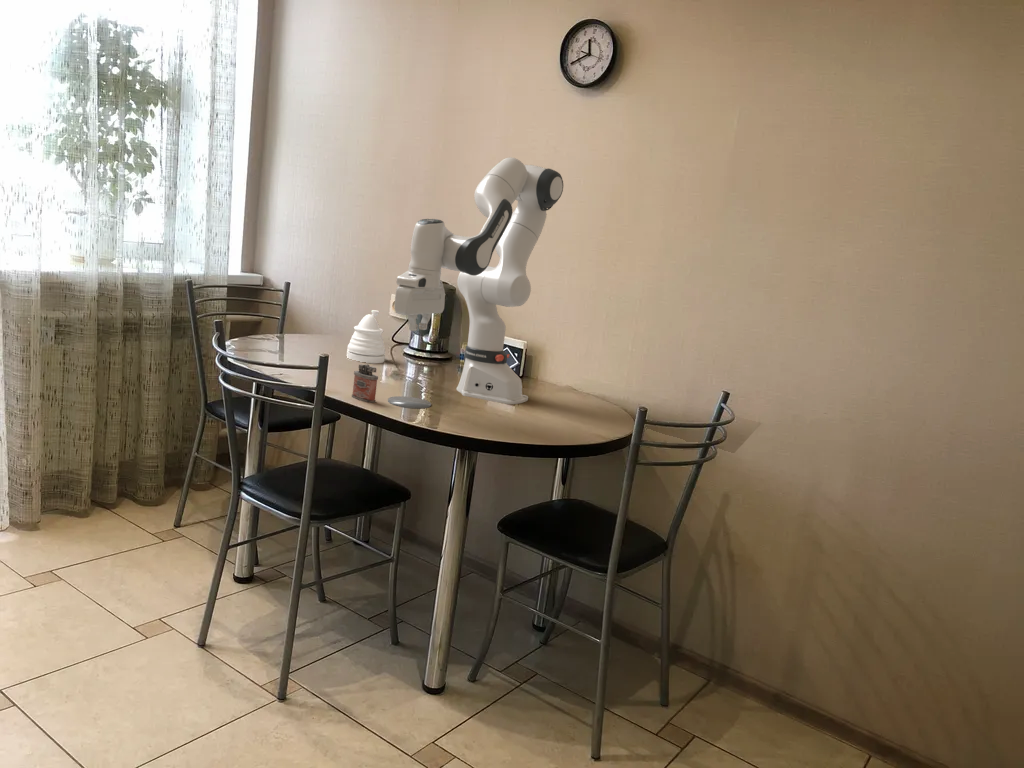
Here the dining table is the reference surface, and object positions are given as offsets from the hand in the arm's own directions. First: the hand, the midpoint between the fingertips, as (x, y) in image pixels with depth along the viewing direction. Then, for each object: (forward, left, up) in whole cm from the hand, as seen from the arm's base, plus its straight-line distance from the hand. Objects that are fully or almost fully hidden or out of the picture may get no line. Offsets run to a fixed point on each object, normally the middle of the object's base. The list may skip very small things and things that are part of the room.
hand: (417, 330), depth 217 cm
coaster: (0, 0, -21) cm, 21 cm away
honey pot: (+44, -39, -21) cm, 62 cm away
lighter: (+10, +8, -21) cm, 25 cm away
